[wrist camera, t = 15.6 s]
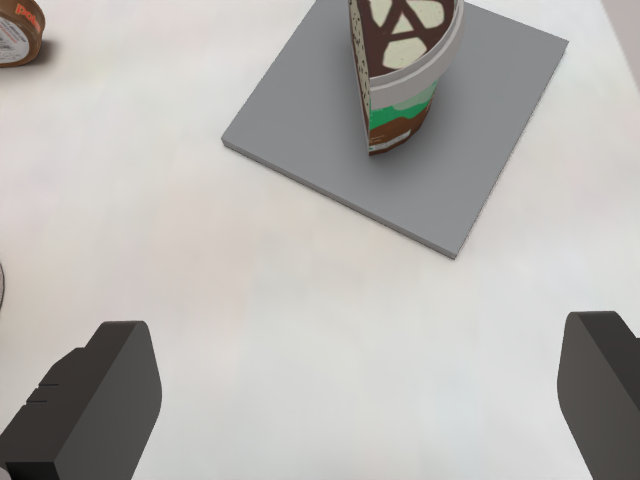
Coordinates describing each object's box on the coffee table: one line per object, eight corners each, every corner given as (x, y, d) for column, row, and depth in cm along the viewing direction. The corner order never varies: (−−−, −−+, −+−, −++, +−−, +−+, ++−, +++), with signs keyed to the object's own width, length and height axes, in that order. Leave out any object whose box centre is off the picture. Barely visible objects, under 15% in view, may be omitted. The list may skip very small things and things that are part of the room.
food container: (464, 163, 38) (493, 70, 29) (371, 176, 38) (371, 88, 29) (431, 14, 42) (447, -109, 33) (348, 27, 43) (340, -92, 33)
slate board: (224, 145, 41) (220, 138, 40) (347, -33, 46) (346, -43, 45) (454, 259, 37) (456, 254, 36) (565, 50, 41) (569, 41, 40)
